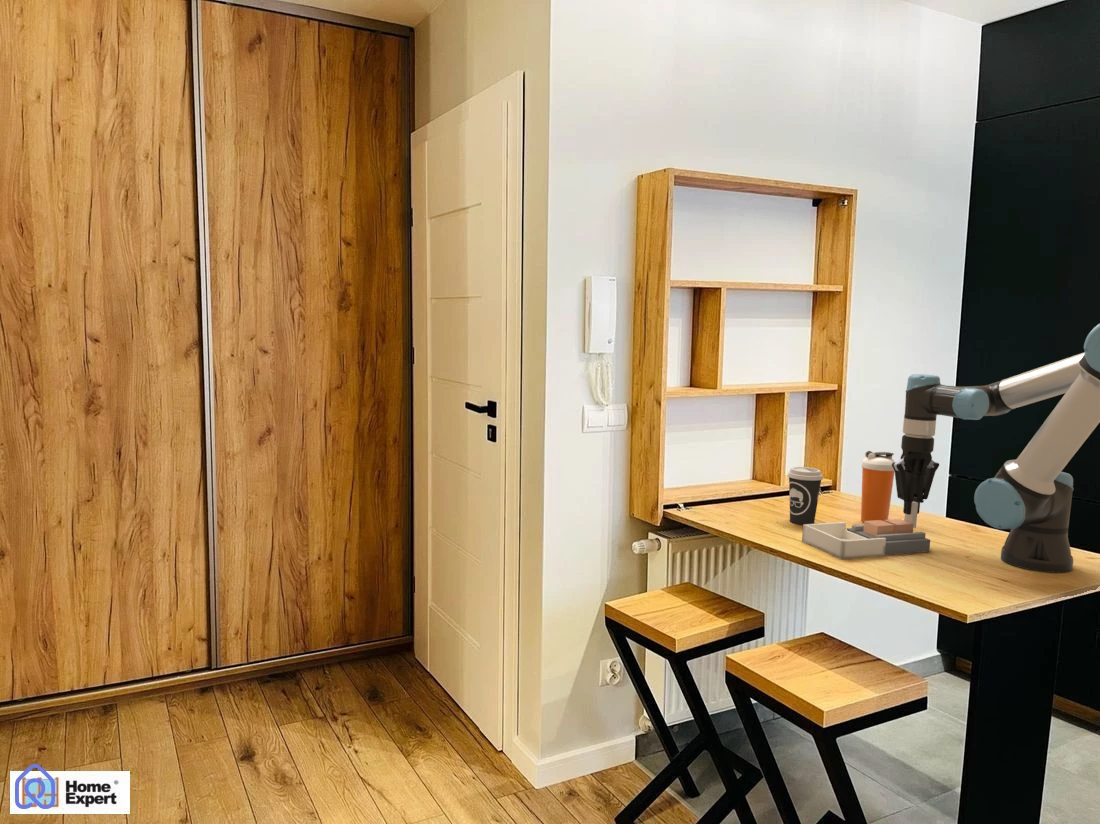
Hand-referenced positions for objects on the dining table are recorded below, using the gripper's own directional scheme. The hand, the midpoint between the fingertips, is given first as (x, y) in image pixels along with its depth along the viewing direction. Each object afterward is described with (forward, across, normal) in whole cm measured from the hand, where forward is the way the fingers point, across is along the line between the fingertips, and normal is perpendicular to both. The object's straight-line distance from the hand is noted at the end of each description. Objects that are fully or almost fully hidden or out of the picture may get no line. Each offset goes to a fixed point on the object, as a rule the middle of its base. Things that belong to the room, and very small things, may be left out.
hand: (909, 526), depth 218 cm
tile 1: (+2, +10, 0) cm, 10 cm away
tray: (+5, +20, +1) cm, 21 cm away
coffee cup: (+5, +15, -24) cm, 29 cm away
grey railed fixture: (+5, +7, 0) cm, 8 cm away
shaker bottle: (+5, -6, -21) cm, 22 cm away
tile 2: (+2, +4, 0) cm, 4 cm away
